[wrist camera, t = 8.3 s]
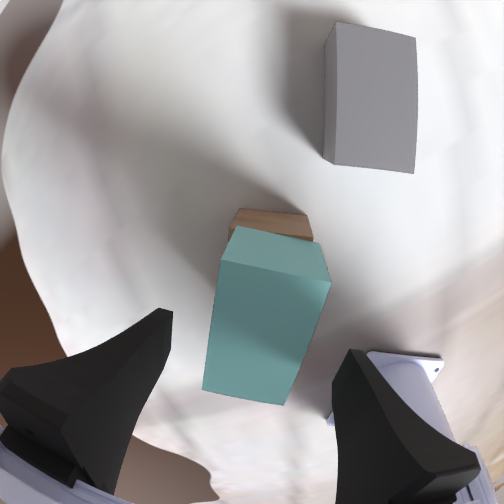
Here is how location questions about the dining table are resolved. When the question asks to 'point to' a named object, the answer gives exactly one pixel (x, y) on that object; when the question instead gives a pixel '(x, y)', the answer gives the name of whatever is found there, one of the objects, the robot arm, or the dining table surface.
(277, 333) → the teal brick
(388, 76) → the gray brick
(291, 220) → the walnut brick
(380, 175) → the dining table surface
